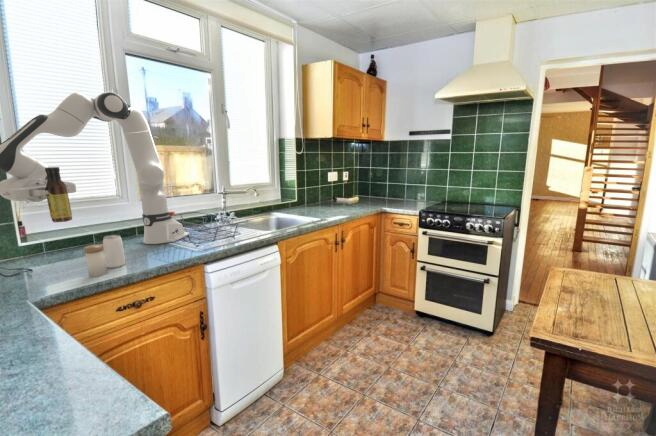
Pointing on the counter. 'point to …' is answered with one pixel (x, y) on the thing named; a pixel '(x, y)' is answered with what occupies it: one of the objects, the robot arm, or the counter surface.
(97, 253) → the spice jar
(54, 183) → the sauce bottle
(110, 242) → the can
